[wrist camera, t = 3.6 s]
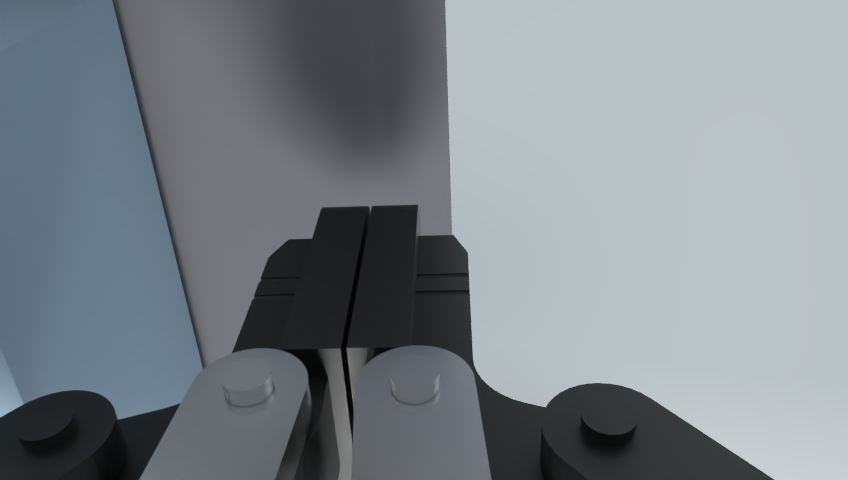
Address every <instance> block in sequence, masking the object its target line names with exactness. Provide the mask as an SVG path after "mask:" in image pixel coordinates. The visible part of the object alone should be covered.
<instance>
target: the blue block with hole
mask: <svg viewBox="0 0 848 480" xmlns="http://www.w3.org/2000/svg"><path fill="white" fill-rule="evenodd" d="M202 370H203V367H202V363H201V359H200V355H199V351H198V347H197V343H196V339H195V335H194V331H193V327H192V323H191V319H190V315H189V310H188V306H187V302H186V298H185V294H184V290H183V286H182V282H181V278H180V274H179V270H178V266H177V262H176V258H175V254H174V250H173V245H172V241H171V237H170V233H169V229H168V225H167V221H166V217H165V213H164V209H163V205H162V201H161V197H160V193H159V189H158V184H157V180H156V176H155V172H154V168H153V164H152V160H151V156H150V152H149V148H148V144H147V140H146V136H145V132H144V128H143V124H142V119H141V115H140V111H139V107H138V103H137V99H136V95H135V91H134V87H133V83H132V79H131V75H130V71H129V67H128V63H127V58H126V54H125V50H124V46H123V42H122V38H121V34H120V30H119V26H118V22H117V18H116V14H115V10H114V6H113V2H112V0H0V417H2V416H4V415H5V414H7V413H9V412H11V411H12V410H14V409H16V408H18V407H19V406H21V405H23V404H25V403H27V402H29V401H32V400H34V399H37V398H39V397H42V396H45V395H48V394H52V393H57V392H62V391H70V390H85V391H91V392H95V393H98V394H100V395H102V396H104V397H106V398H107V399H108V400H109V401H110V402H111V403H112V405H113V407H114V409H115V412H116V415H117V418H118V420H119V419H123V418H127V417H131V416H135V415H139V414H143V413H147V412H151V411H156V410H160V409H164V408H167V407H170V406H174V405H176V404H179V403H181V402H182V400H183V398H184V396H185V394H186V393H187V391H188V389H189V387H190V385H191V383H192V382H193V380H194V379H195V377H196V376H197V375H198V374H199V373H200V372H201V371H202Z"/></svg>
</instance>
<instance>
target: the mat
mask: <svg viewBox="0 0 848 480" xmlns="http://www.w3.org/2000/svg"><path fill="white" fill-rule="evenodd" d="M112 2H113V6H114V10H115V14H116V18H117V22H118V26H119V30H120V34H121V38H122V42H123V46H124V50H125V54H126V58H127V63H128V67H129V71H130V75H131V79H132V83H133V87H134V91H135V95H136V99H137V103H138V107H139V111H140V115H141V119H142V124H143V128H144V132H145V136H146V140H147V144H148V148H149V152H150V156H151V160H152V164H153V168H154V172H155V176H156V180H157V184H158V189H159V193H160V197H161V201H162V205H163V209H164V213H165V217H166V221H167V225H168V229H169V233H170V237H171V241H172V245H173V250H174V254H175V258H176V262H177V266H178V270H179V274H180V278H181V282H182V286H183V290H184V294H185V298H186V302H187V306H188V310H189V315H190V319H191V323H192V327H193V331H194V335H195V339H196V343H197V347H198V351H199V355H200V359H201V363H202V367H203V369H204V368H206V367H207V366H208V365H209V364H211V363H213V362H214V361H216V360H218V359H220V358H222V357H224V356H226V355H229V354H232V351H233V349H234V346H235V344H236V341H237V338H238V336H239V333H240V330H241V328H242V325H243V323H244V320H245V317H246V315H247V312H248V310H249V307H250V304H251V302H252V299H254V294H255V291H256V289H257V286H258V283H259V282H261V276H262V273H263V270H264V268H265V265H266V263H267V260H268V257H269V256H271V255H272V254H273V253H274V252H275V251H276V250H277V249H278V248H279V247H281V246H282V245H283V244H284V243H285V242H286V241H287V240H288V239H312V237H313V234H314V231H315V227H316V224H317V221H318V217H319V214H320V211H321V209H322V207H351V206H369V207H370V210H371V208H372V206H383V205H419V210H420V224H421V236H430V235H452V227H451V226H452V225H451V192H450V158H449V125H448V90H447V55H446V21H445V0H112Z"/></svg>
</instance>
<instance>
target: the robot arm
mask: <svg viewBox="0 0 848 480" xmlns="http://www.w3.org/2000/svg"><path fill="white" fill-rule="evenodd" d="M0 480H774V479H772V478H770V477H769V476H768V475H766V474H765V473H763V472H762V471H760V470H759V469H757V468H756V467H754V466H752V465H751V464H749V463H748V462H746V461H745V460H743V459H742V458H740V457H739V456H737V455H736V454H734V453H733V452H731V451H730V450H728V449H727V448H725V447H724V446H722V445H721V444H719V443H718V442H716V441H714V440H713V439H711V438H710V437H708V436H707V435H705V434H703V433H702V432H701V431H699V430H698V429H696V428H695V427H693V426H692V425H690V424H689V423H687V422H686V421H684V420H683V419H681V418H679V417H678V416H676V415H675V414H673V413H672V412H670V411H669V410H667V409H666V408H664V407H663V406H661V405H660V404H658V403H657V402H655V401H654V400H652V399H651V398H649V397H647V396H645V395H643V394H642V393H640V392H637V391H635V390H632V389H630V388H626V387H623V386H619V385H612V384H602V383H594V384H585V385H579V386H576V387H572V388H569V389H567V390H565V391H563V392H561V393H559V394H558V395H557V396H555V397H554V398H553V399H552V400H551V401H550V402H549V403H548V405H547V407H546V408H545V407H541V406H536V405H532V404H527V403H523V402H520V401H516V400H513V399H511V398H508V397H506V396H504V395H502V394H500V393H498V392H497V391H495V390H493V389H492V388H491V387H489V386H488V385H487V384H486V383H485V382H484V381H483V380H482V379H481V378H480V376H479V375H478V373H477V371H476V369H475V367H474V363H473V354H472V333H471V313H470V294H469V271H468V253H467V251H466V250H465V249H464V247H463V246H462V245H461V244H460V243H459V241H457V239H456V238H455V237H454V235H430V236H421V224H420V210H419V205H383V206H372V208H371V210H370V207H369V206H351V207H322V209H321V211H320V214H319V217H318V221H317V224H316V227H315V231H314V234H313V237H312V239H288V240H287V241H286V242H285V243H284V244H283V245H282V246H281V247H279V248H278V249H277V250H276V251H275V252H274V253H273V254H272V255H271V256H269V257H268V260H267V263H266V265H265V268H264V270H263V273H262V276H261V282H259V283H258V286H257V289H256V291H255V294H254V299H252V302H251V304H250V307H249V310H248V312H247V315H246V317H245V320H244V323H243V325H242V328H241V330H240V333H239V336H238V338H237V341H236V344H235V346H234V349H233V351H232V354H229V355H226V356H224V357H222V358H220V359H218V360H216V361H214V362H213V363H211V364H209V365H208V366H207V367H206V368H204V369H203V370H202V371H201V372H200V373H199V374H198V375H197V376H196V377H195V379H194V380H193V382H192V383H191V385H190V387H189V389H188V391H187V393H186V394H185V396H184V398H183V400H182V402H181V403H179V404H176V405H174V406H170V407H167V408H164V409H160V410H156V411H151V412H147V413H143V414H139V415H135V416H131V417H127V418H123V419H119V420H118V418H117V415H116V412H115V409H114V407H113V405H112V403H111V402H110V401H109V400H108V399H107V398H106V397H104V396H102V395H100V394H98V393H95V392H91V391H85V390H70V391H62V392H57V393H52V394H48V395H45V396H42V397H39V398H37V399H34V400H32V401H29V402H27V403H25V404H23V405H21V406H19V407H18V408H16V409H14V410H12V411H11V412H9V413H7V414H5V415H4V416H2V417H0Z"/></svg>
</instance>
